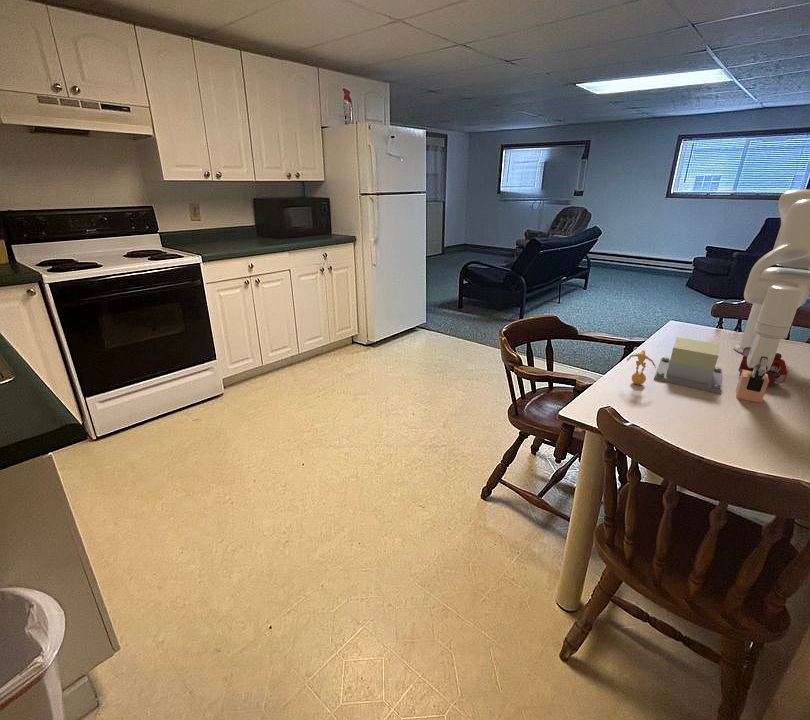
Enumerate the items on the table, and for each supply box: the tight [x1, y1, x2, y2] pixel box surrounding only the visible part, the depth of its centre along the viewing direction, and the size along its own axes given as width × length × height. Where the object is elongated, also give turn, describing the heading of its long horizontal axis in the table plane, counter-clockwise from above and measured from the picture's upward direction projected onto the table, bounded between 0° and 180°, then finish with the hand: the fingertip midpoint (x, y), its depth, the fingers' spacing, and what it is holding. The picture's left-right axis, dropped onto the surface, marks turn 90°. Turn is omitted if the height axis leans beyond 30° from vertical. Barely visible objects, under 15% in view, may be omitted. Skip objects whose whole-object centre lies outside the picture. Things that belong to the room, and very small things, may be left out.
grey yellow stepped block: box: [653, 336, 723, 395], centre depth 142 cm, size 18×18×11 cm
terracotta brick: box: [735, 370, 769, 404], centre depth 130 cm, size 6×6×7 cm
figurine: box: [626, 349, 656, 386], centre depth 136 cm, size 8×6×12 cm
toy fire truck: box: [738, 347, 789, 388], centre depth 140 cm, size 7×12×10 cm, turn 42°
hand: (752, 384), depth 130 cm, fingers open, 9 cm apart
